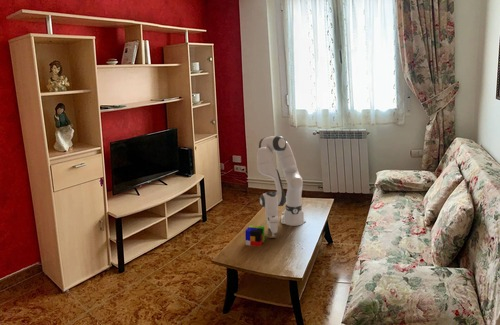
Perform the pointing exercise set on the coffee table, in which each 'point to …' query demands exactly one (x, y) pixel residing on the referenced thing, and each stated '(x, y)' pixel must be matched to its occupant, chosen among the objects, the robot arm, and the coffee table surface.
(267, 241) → the coffee table surface
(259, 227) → the puzzle toy
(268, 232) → the walnut block
